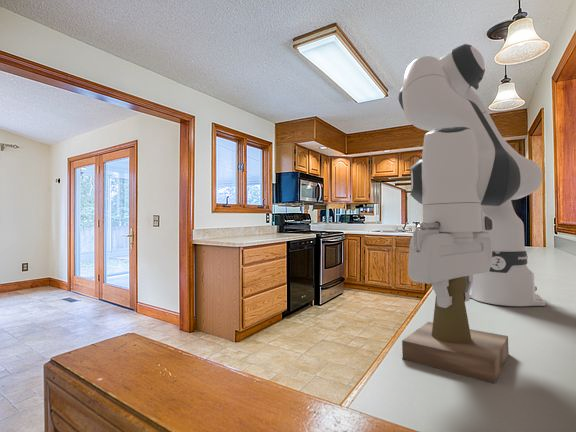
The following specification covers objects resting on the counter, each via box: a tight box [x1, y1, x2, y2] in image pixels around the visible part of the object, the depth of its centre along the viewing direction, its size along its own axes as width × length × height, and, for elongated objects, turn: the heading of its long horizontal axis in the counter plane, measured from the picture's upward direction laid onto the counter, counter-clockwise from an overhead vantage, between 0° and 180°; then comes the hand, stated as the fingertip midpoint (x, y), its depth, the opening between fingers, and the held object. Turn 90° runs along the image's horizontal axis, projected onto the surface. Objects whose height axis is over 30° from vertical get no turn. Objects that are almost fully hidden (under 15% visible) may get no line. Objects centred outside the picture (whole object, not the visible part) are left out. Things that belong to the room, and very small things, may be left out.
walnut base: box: [401, 321, 509, 384], centre depth 54 cm, size 13×13×3 cm
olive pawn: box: [432, 277, 471, 344], centre depth 54 cm, size 6×6×11 cm
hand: (453, 304), depth 54 cm, fingers open, 4 cm apart
